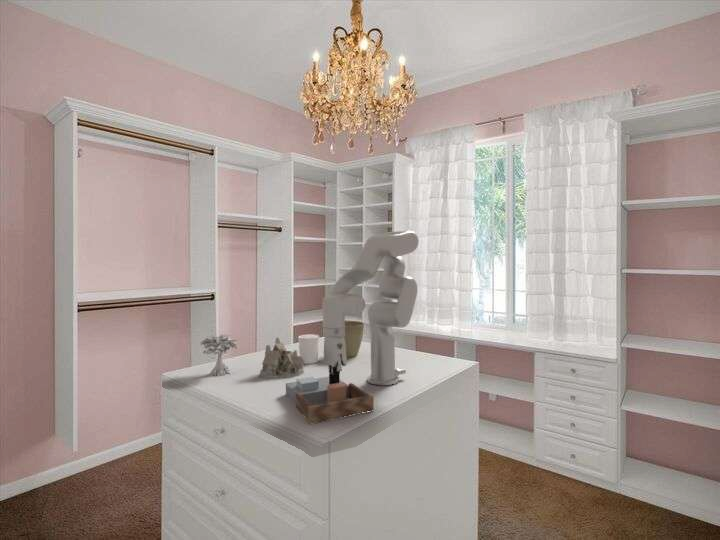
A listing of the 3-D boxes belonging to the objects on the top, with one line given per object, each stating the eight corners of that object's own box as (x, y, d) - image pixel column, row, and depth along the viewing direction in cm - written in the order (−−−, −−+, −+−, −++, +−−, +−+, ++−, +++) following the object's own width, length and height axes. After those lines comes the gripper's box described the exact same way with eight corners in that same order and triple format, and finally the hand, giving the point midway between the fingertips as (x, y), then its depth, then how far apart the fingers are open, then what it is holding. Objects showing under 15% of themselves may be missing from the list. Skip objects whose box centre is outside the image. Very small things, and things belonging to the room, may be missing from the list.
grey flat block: (334, 386, 156) (334, 375, 155) (350, 397, 143) (350, 386, 143) (285, 394, 147) (285, 383, 147) (297, 407, 135) (297, 395, 134)
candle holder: (316, 364, 186) (316, 338, 186) (295, 364, 188) (295, 338, 187) (321, 359, 196) (321, 334, 196) (302, 358, 198) (301, 334, 197)
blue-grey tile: (312, 383, 146) (312, 376, 146) (318, 388, 141) (318, 381, 141) (296, 386, 144) (296, 379, 143) (302, 391, 138) (301, 383, 138)
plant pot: (330, 353, 207) (330, 322, 207) (357, 350, 213) (356, 320, 213) (341, 360, 194) (341, 326, 193) (369, 356, 200) (369, 324, 199)
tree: (214, 381, 162) (213, 340, 162) (189, 375, 171) (188, 336, 170) (249, 370, 177) (248, 333, 177) (224, 365, 186) (224, 329, 185)
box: (353, 397, 144) (353, 382, 143) (373, 411, 130) (373, 395, 130) (294, 407, 134) (294, 392, 134) (309, 424, 121) (309, 407, 120)
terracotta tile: (343, 382, 140) (346, 385, 138) (342, 397, 141) (345, 401, 139) (327, 384, 137) (330, 388, 135) (326, 400, 139) (329, 404, 137)
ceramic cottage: (254, 375, 170) (256, 339, 169) (281, 367, 184) (283, 334, 183) (281, 384, 162) (283, 346, 161) (308, 375, 175) (310, 340, 175)
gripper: (353, 334, 135) (353, 389, 136) (335, 327, 149) (336, 377, 149) (331, 336, 132) (332, 392, 132) (316, 329, 145) (316, 380, 146)
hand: (334, 384), depth 141 cm, fingers closed
